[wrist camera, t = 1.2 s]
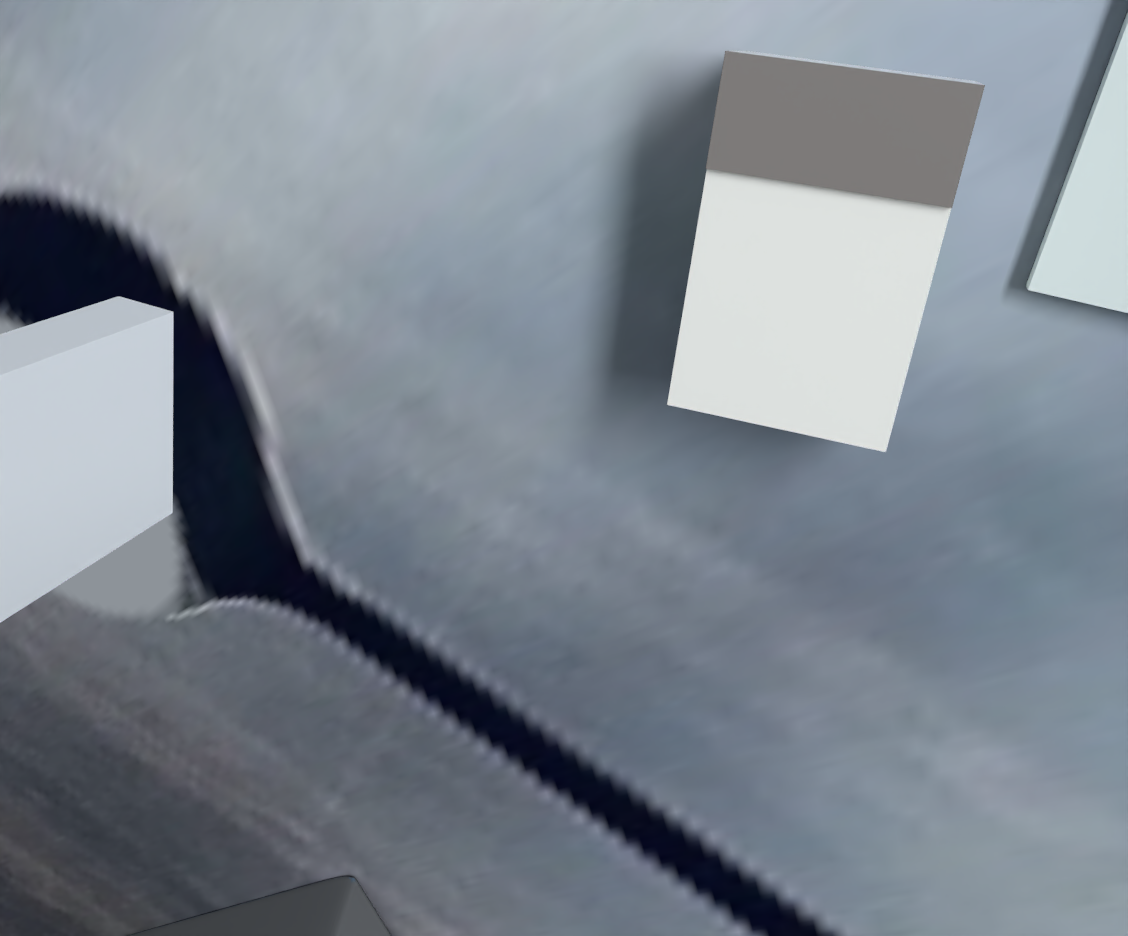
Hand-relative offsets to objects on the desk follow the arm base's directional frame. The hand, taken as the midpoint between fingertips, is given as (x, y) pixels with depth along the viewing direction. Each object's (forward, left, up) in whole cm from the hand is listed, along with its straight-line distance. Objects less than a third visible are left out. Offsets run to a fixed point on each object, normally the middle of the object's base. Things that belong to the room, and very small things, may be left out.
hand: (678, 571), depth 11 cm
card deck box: (0, 0, -23) cm, 23 cm away
